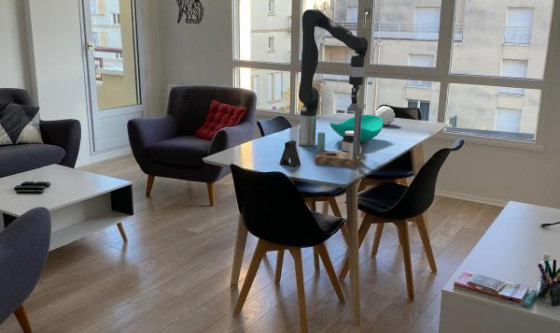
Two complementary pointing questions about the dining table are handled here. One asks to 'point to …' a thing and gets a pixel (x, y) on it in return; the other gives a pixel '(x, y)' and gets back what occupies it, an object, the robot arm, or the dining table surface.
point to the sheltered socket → (345, 157)
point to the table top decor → (368, 127)
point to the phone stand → (290, 155)
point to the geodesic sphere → (386, 115)
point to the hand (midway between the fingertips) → (354, 105)
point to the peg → (320, 142)
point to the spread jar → (348, 142)
